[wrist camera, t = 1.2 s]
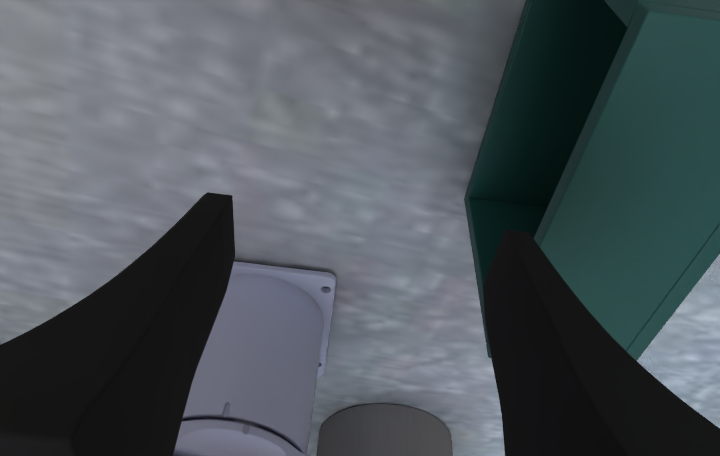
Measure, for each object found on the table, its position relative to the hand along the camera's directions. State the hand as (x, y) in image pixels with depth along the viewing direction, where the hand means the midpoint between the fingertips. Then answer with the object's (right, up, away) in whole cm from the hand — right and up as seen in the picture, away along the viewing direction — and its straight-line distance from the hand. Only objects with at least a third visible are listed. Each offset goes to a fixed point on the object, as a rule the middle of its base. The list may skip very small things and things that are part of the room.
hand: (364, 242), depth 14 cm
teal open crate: (+8, +6, +8) cm, 13 cm away
